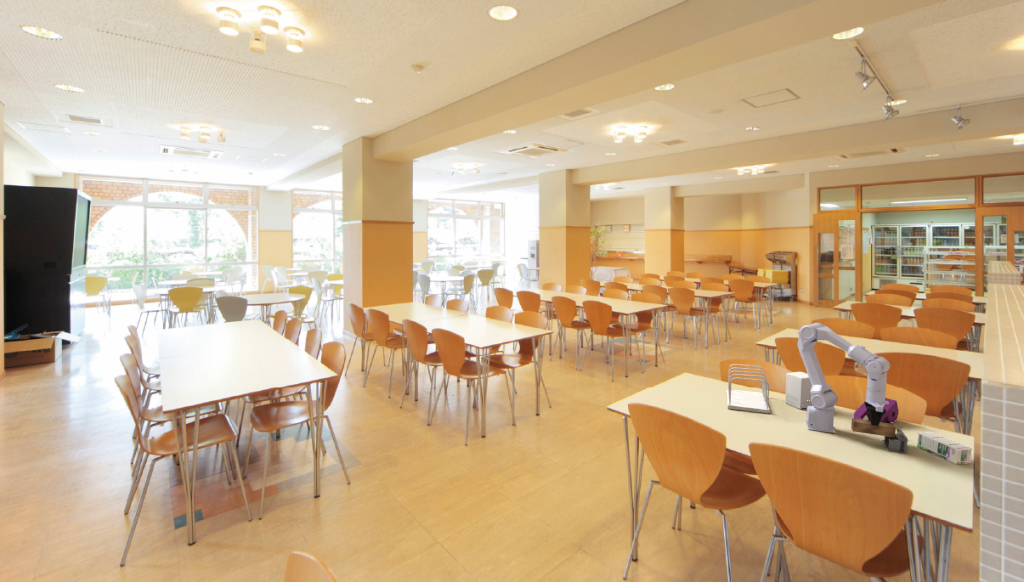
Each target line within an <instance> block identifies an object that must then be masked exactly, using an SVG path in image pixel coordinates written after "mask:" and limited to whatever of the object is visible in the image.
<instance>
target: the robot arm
mask: <svg viewBox="0 0 1024 582" xmlns="http://www.w3.org/2000/svg"><path fill="white" fill-rule="evenodd" d="M797 334H798V338H797V339H798V340H797V348H798V350H799V355H800V357H801V359H802V362H803V365H804V368H805V370H806V373H807V374H808V376H809V379H810V382H811V385H812V388H811V392H810V393H811V402H812V404H813V406H808V407H807V408H806V420H805V422H806V427H807V429H808V430H812V431H817V432H819V431H820V432H826V433H833V434H836V430H835V426H834V421H835V405H836V404H837V403H838V401H839V399H838V395H837V393H835V391H834V390H833V388H832V386H831V385H830V384H828V383H827V380H826V378H825V375H824V373H823V370H822V367H821V365H820V364H821V363H820V362H819V359H818V356H817V353H816V351H815V348H814V346H815V345H816V343H817V342H818V341H828V342H829V343H830V344H833V345H834V346H836V347H838V348H840V349H841V350H844V351H845V352H846V353H847V356H848V357H849V358H850V359H852V360H853V361H855V362H857V363H858V364H860V365H861V366H863V367H865V368H864V369H865V370H866V371H867V382H866V394H865V395H866V396H865V400H864V401H863V403H864V404H865V406H866V409H867V413H868V416H867V420H868V419H869V421H871V425H874V426H878V425H879V423H880V420H881V418H882V416H883V415H884V414H885V413H886V409H883V406H884V405H885V404H889V402H888V401H885V398H886V392H887V380H888V379H887V377H888V376H887V375H888V371H889V370H890V368H891V364H890V362H889V360H888V359H886V358H885V357H883V356H878V354H876V353H875V354H874V353H872V352H871V351H869V350H867V348H866V346H864V345H860V344H855V345H854V344H852V343H850V342H849V341H848V340H846V339H845V338H844V337H842V336H841V335H839V334H838V333H836V332H835V331H834V330H832V329H831V328H830V327H829V326H826V325H825V324H824V323H821V322H814V323H812V324H811V323H810V324H805V325H803V326H801V328H800V329H799V330H798V332H797ZM865 401H866V402H865Z"/></svg>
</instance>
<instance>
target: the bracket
mask: <svg viewBox="0 0 1024 582" xmlns="http://www.w3.org/2000/svg"><path fill="white" fill-rule="evenodd" d="M883 437H884V438H883V439H881V440H880V442H882V444H883V446H884V447H885V449H886V450H887V452H892V453H898V454H905V455H906V454H907V451H908V442H909V441H908V437H907V435H906V434H905V433H904V432H903V430H902V429H901V428H900V427H896V432H895V438H894V437H887V436H883Z"/></svg>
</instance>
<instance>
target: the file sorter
mask: <svg viewBox="0 0 1024 582" xmlns="http://www.w3.org/2000/svg"><path fill="white" fill-rule="evenodd" d="M733 366H737V367H733ZM738 366H739V367H738ZM740 366H741V367H740ZM744 367H751V368H744ZM758 368H760V369H758ZM757 371H758V372H757ZM732 373H733V374H732ZM738 373H739V374H738ZM740 373H748V374H740ZM731 374H732V375H731ZM753 374H754V375H753ZM756 374H757V375H756ZM735 376H740V377H735ZM732 377H733V378H732ZM745 377H754V378H756V377H757V378H762V379H754V378H745ZM727 378H728V381H727V383H728V384H727V388H726V392H727V393H726V402H727V404H726V406H727V409H728V410H729V409H730V410H738V411H744V412H745V411H747V412H751V413H752V412H753V413H760V412H761V414H768V413H771V412H770V411H771V410H770V407H769V398H770V397H769V395H770V384H769V382H768V380H767V376H766V373H765V370H764V368H763V366H760V365H751V364H740V363H739V364H738V363H733V364H730V366H729V367H728V377H727ZM734 380H744V381H753V382H754V381H755V382H762V385H761V386H762V387H761V392H760V391H759V392H758V391H757V392H756V391H749V390H739V389H732V383H733V381H734Z"/></svg>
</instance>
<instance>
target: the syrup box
mask: <svg viewBox="0 0 1024 582" xmlns="http://www.w3.org/2000/svg"><path fill="white" fill-rule="evenodd" d="M916 447H917V448H919V449H921V450H924V451H926V452H927V453H930V454H932V453H933V454H932V455H934V454H935V456H936V457H939V456H940V457H939V458H941V457H942V458H941V459H943V458H944V460H945V459H946V461H948V462H950V463H952V462H953V464H954V463H955V464H954V465H966V464H965V463H969V464H971V459H972V458H971V457H972V451H973V450H972V449H973V448H972V447H970V446H967V445H965V444H962V443H960V442H957V441H955V440H953V439H950V438H948V437H946V436H943V435H940V434H937V433H935V432H934V431H922V432H921V431H920V432H918V433H917V443H916ZM963 463H964V464H963Z"/></svg>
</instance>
